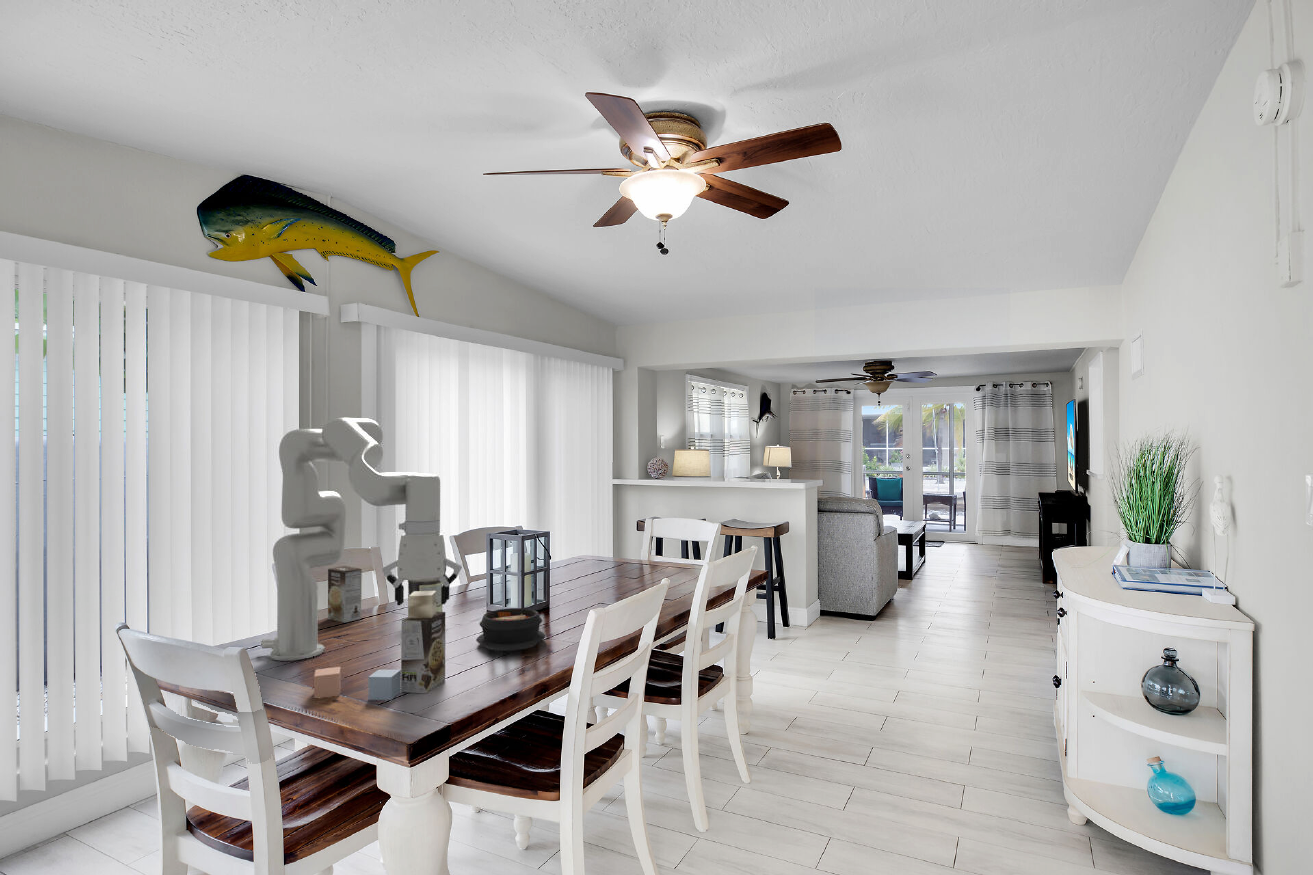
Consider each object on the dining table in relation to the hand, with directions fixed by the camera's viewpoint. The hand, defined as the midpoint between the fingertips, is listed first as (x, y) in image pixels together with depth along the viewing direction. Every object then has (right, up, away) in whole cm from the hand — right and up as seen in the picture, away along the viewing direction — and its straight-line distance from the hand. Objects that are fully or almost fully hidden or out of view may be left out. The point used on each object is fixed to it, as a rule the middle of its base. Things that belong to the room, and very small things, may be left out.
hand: (422, 603), depth 160 cm
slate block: (-6, -19, -6) cm, 21 cm away
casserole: (+13, -19, +33) cm, 41 cm away
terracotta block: (-19, -19, -5) cm, 27 cm away
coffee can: (-18, -20, +56) cm, 62 cm away
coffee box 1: (-46, -20, +63) cm, 80 cm away
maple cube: (0, -3, 0) cm, 3 cm away
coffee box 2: (+1, -19, 0) cm, 19 cm away
